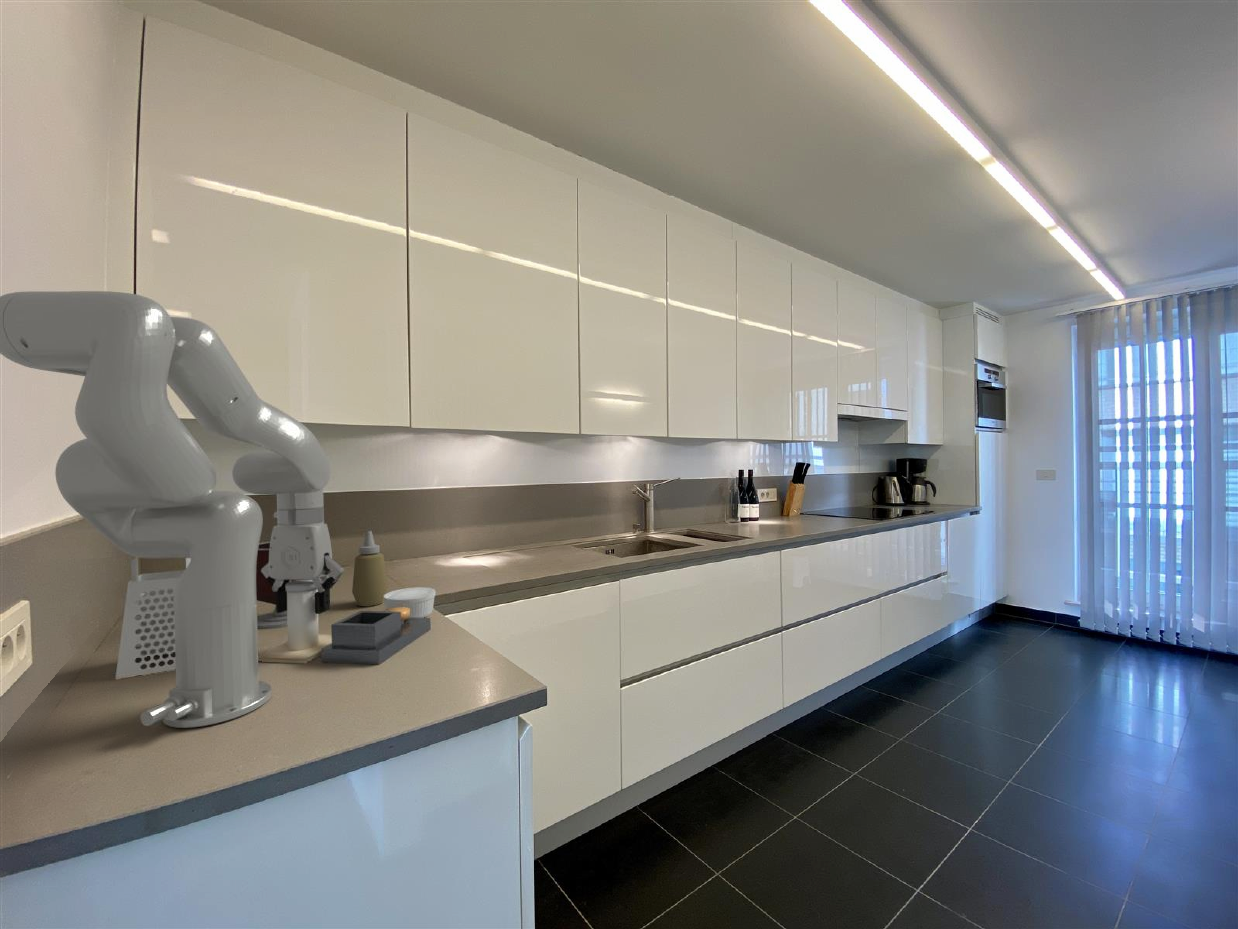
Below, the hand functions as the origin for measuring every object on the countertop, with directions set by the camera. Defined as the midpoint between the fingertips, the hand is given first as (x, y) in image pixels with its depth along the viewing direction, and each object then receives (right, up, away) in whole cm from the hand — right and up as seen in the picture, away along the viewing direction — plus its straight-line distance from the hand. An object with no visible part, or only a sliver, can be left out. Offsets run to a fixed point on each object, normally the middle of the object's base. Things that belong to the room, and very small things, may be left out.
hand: (303, 610), depth 98 cm
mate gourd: (-16, -8, +18) cm, 25 cm away
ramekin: (+12, -7, +21) cm, 25 cm away
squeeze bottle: (-2, -7, +31) cm, 32 cm away
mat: (0, -7, 0) cm, 7 cm away
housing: (+13, -7, +2) cm, 16 cm away
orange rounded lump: (+14, -7, +8) cm, 18 cm away
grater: (-22, -8, -5) cm, 24 cm away
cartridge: (0, -7, 0) cm, 7 cm away
